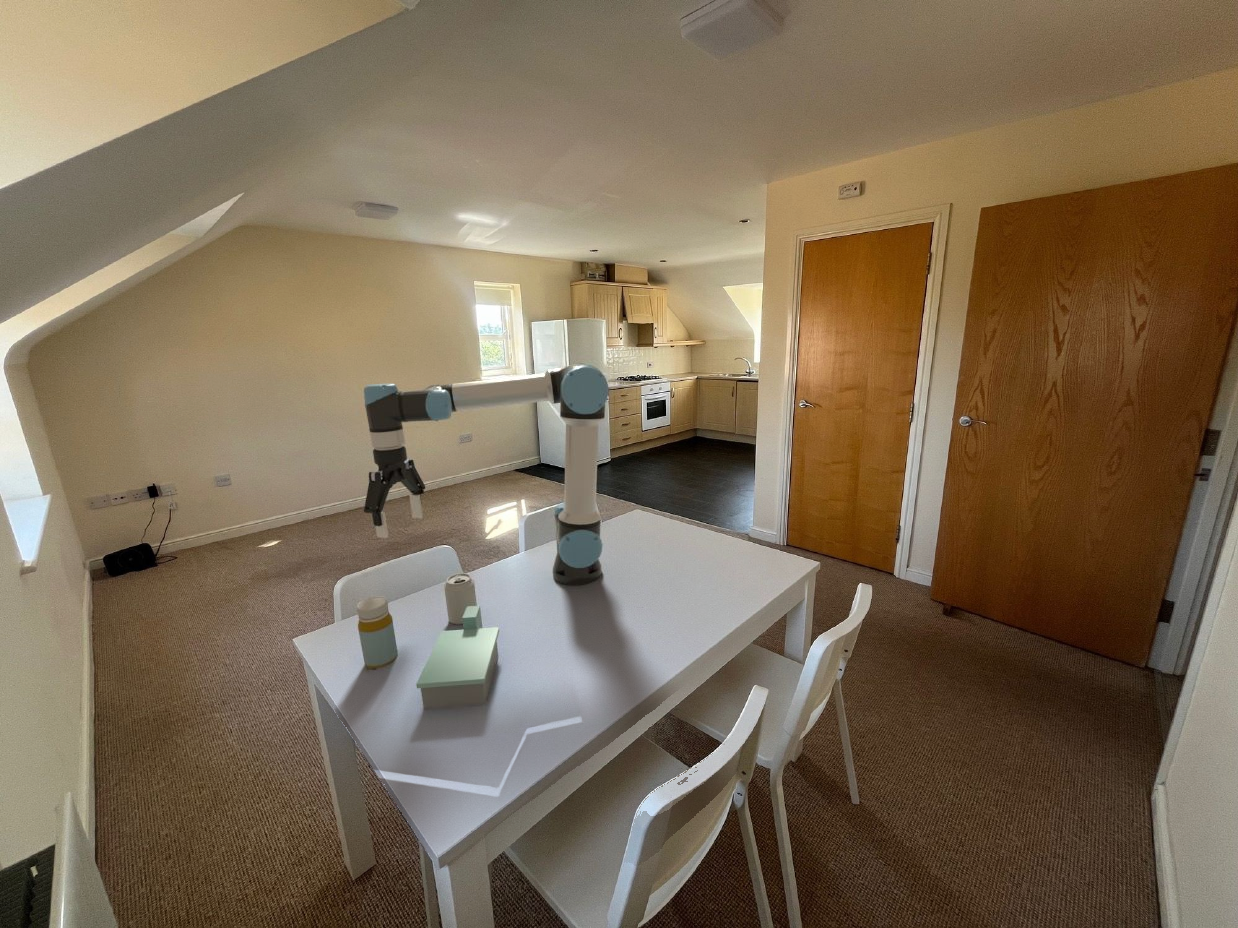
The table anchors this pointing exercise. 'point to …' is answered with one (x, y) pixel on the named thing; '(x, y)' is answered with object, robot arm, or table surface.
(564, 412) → the robot arm
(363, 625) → the bottle
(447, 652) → the lid
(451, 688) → the tub
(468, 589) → the can
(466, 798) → the table surface
